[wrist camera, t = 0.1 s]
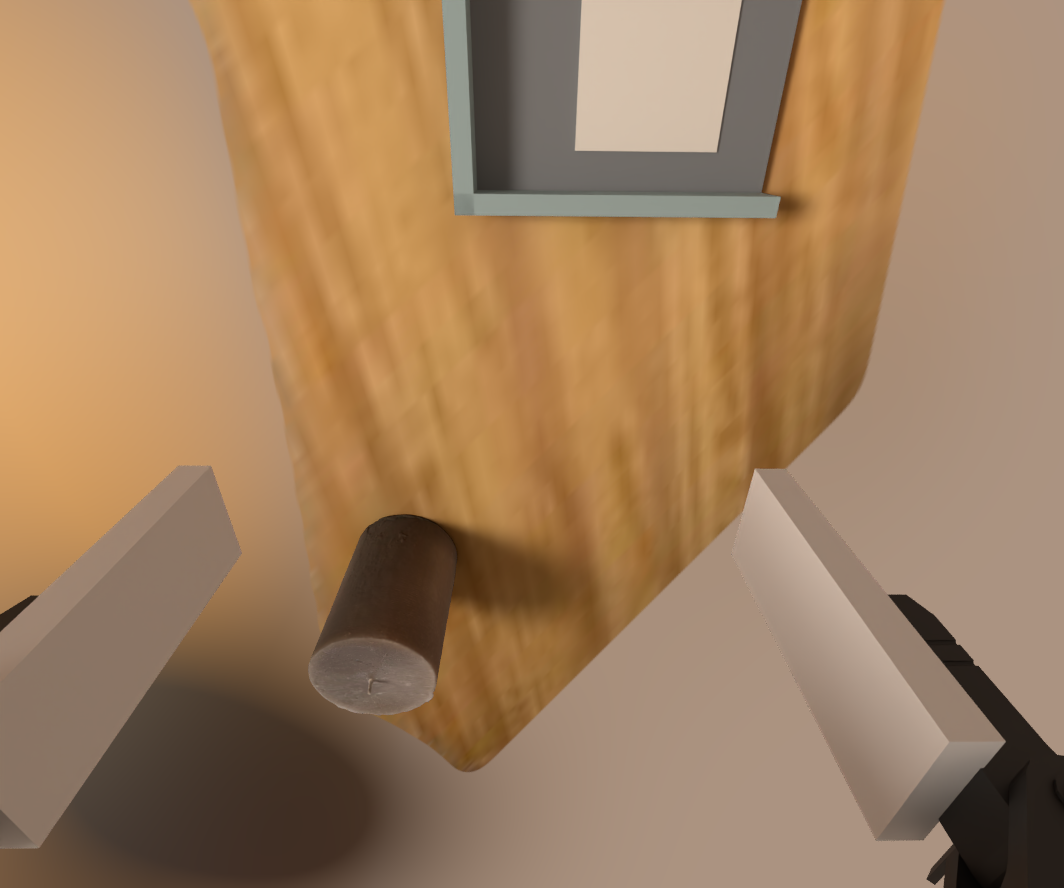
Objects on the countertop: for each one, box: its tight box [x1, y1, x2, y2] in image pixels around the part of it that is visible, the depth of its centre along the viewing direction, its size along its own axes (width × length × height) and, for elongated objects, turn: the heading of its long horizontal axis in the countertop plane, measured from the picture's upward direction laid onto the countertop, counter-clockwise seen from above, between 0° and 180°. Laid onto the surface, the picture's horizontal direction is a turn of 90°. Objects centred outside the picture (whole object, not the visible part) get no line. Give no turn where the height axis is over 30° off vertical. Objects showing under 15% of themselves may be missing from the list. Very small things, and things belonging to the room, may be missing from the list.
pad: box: [575, 0, 742, 152], centre depth 30 cm, size 9×9×1 cm
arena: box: [442, 0, 802, 218], centre depth 28 cm, size 21×20×4 cm
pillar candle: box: [308, 515, 457, 715], centre depth 44 cm, size 10×10×15 cm
